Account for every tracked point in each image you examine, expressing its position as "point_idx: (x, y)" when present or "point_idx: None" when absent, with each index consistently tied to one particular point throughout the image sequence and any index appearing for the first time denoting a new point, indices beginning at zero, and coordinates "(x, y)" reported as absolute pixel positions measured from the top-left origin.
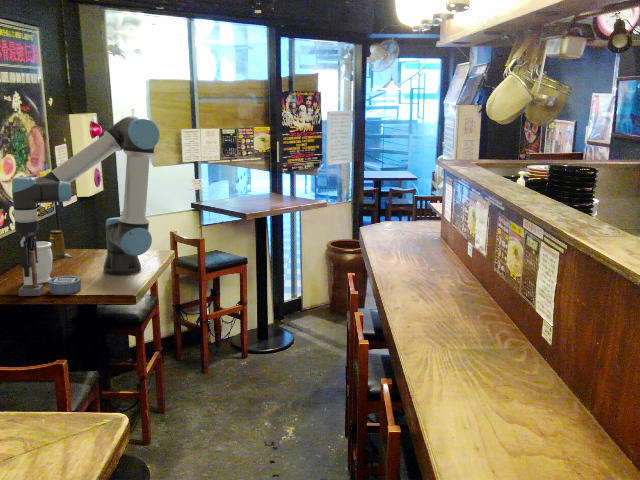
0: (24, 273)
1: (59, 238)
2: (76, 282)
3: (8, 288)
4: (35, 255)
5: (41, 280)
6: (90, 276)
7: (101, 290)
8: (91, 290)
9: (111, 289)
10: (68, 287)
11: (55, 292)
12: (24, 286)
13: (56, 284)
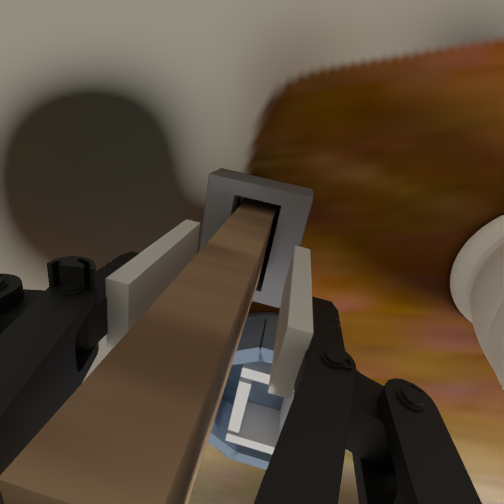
0: (107, 266)
1: None
2: (217, 445)
3: (429, 74)
4: (364, 497)
5: (462, 292)
6: (472, 479)
7: (231, 465)
8: None
9: (236, 489)
10: None
11: None
12: (235, 211)
13: None
